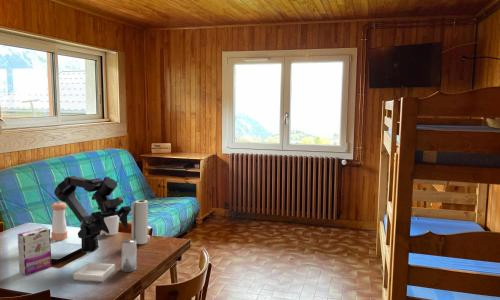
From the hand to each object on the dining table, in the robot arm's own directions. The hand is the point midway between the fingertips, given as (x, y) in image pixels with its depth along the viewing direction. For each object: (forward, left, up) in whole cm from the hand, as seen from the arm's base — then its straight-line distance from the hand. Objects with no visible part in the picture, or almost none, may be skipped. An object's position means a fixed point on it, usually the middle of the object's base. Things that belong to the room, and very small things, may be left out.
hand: (118, 230), depth 174 cm
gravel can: (+8, -7, -14) cm, 18 cm away
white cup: (-19, +36, -14) cm, 43 cm away
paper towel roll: (+1, +25, -14) cm, 28 cm away
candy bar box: (-29, -14, -14) cm, 35 cm away
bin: (-3, -15, -14) cm, 21 cm away
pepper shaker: (-41, +24, -14) cm, 50 cm away
